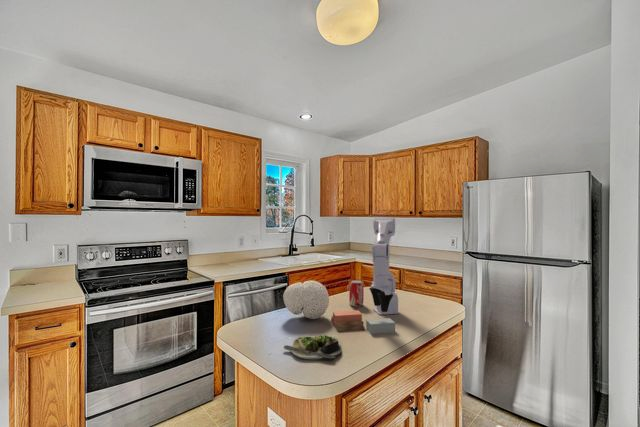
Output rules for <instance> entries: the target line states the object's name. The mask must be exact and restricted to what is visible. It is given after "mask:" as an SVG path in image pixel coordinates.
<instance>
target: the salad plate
mask: <svg viewBox="0 0 640 427" xmlns="http://www.w3.org/2000/svg"><path fill="white" fill-rule="evenodd" d="M283 349H284V350H287V351H290V352H291V353H292V354H293V355H294V356H296V357H298V358H300V359H303V360H312V361H313V360H317V361H325V360H326V361H330V360H334V359H336V358H339V356H340V355H341V354H342V345H341V341H340V339H339V338H337V337H336V336H334V335H333V336H332V335H325V334H322V335H321V334H318V335H303V336H298V337H297V338H295V339H294V340H293V342H292V346H291V345H284V346H283Z"/></svg>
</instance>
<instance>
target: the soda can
mask: <svg viewBox="0 0 640 427" xmlns="http://www.w3.org/2000/svg"><path fill="white" fill-rule="evenodd" d="M348 285H349V286H348V288H349V295H348V296H349V305H350V306H351V307H355V308H357V307H358V308H360V307H362V306H363V305H364V283H363V281H362V280H358V279H354V280H350V282H349V284H348Z"/></svg>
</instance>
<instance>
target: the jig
mask: <svg viewBox="0 0 640 427" xmlns="http://www.w3.org/2000/svg"><path fill="white" fill-rule="evenodd" d="M330 321H331V323H332V324H333V327H334V328H335V330H336V331H337V332H349V331H351V332H352V331H365V329H366V326H364V324H365V323H364V321H363V320H362V321H353V322H338V323H336V326H335V324H334V322H333V315H331V318H330Z"/></svg>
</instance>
